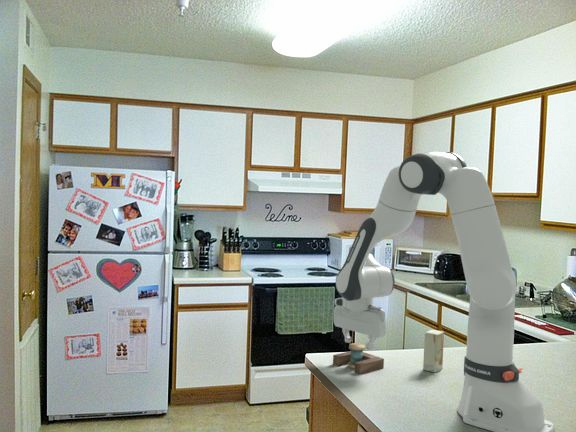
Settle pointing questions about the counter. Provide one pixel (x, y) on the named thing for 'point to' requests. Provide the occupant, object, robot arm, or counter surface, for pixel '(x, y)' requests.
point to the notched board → (360, 362)
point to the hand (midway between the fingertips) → (358, 345)
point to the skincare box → (433, 350)
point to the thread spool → (355, 354)
